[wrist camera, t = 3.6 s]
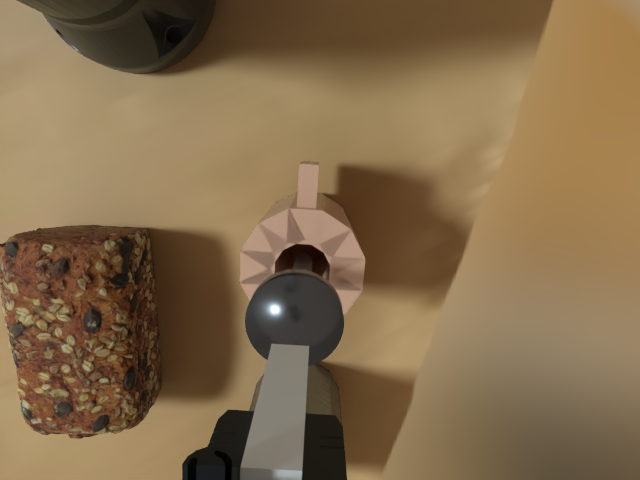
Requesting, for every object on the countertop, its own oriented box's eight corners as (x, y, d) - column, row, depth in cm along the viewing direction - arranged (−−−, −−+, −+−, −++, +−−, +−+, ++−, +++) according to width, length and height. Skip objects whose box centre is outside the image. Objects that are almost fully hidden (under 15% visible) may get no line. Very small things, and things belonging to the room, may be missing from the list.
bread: (54, 220, 41) (-28, 242, 32) (160, 224, 41) (111, 246, 32) (72, 387, 45) (4, 452, 36) (169, 390, 45) (127, 455, 36)
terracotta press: (260, 276, 42) (238, 325, 31) (265, 157, 40) (242, 160, 28) (348, 282, 43) (358, 332, 31) (358, 163, 40) (374, 169, 28)
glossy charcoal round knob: (270, 290, 33) (243, 364, 21) (273, 228, 32) (246, 272, 20) (332, 294, 33) (339, 370, 21) (337, 232, 32) (347, 279, 20)
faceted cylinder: (254, 453, 47) (223, 590, 32) (257, 356, 44) (227, 457, 30) (332, 457, 47) (338, 596, 32) (341, 361, 44) (351, 465, 30)
